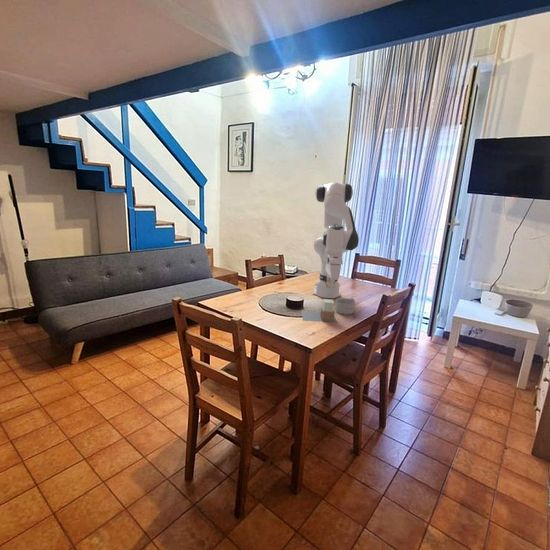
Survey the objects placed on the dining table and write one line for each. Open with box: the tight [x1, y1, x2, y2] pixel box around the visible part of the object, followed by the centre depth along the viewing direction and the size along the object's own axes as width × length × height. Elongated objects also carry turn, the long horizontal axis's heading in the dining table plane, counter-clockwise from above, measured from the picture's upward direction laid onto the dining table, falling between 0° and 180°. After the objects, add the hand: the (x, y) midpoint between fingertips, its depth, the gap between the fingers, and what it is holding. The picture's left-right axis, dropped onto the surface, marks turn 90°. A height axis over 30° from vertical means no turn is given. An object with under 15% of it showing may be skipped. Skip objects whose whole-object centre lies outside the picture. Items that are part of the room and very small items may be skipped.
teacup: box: [335, 297, 356, 316], centre depth 186 cm, size 14×11×8 cm
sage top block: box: [321, 298, 335, 312], centre depth 172 cm, size 5×5×5 cm
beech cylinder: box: [326, 276, 335, 288], centre depth 169 cm, size 4×4×5 cm
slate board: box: [300, 310, 338, 323], centre depth 177 cm, size 14×18×1 cm
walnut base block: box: [320, 307, 335, 321], centre depth 173 cm, size 6×6×5 cm
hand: (330, 283), depth 169 cm, fingers closed on beech cylinder, 4 cm apart
